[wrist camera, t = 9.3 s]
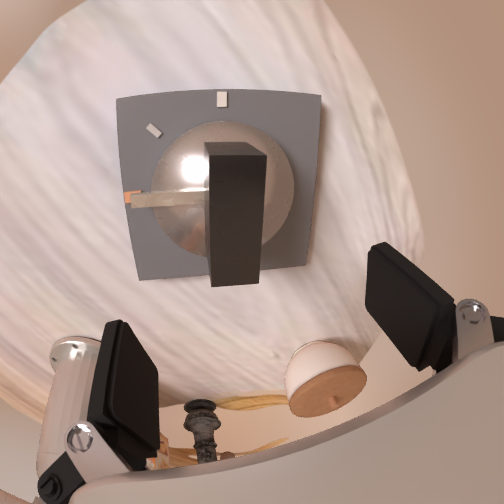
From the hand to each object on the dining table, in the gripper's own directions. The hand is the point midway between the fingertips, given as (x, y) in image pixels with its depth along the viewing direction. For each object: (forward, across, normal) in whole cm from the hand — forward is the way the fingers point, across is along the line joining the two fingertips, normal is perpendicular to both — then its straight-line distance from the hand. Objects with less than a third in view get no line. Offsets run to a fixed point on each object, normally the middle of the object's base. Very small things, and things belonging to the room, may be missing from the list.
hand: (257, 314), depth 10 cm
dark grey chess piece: (+17, +11, +33) cm, 39 cm away
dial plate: (+16, -1, -1) cm, 16 cm away
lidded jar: (+17, -7, +26) cm, 32 cm away
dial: (+14, -1, -1) cm, 14 cm away
